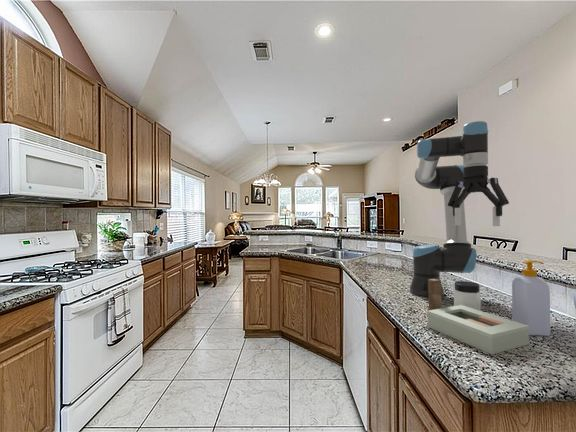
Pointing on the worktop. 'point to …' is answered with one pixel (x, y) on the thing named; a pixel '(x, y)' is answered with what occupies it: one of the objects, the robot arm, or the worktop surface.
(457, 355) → the worktop surface
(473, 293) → the jar
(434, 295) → the bolt peg
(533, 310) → the soap bottle
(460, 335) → the keyhole box
